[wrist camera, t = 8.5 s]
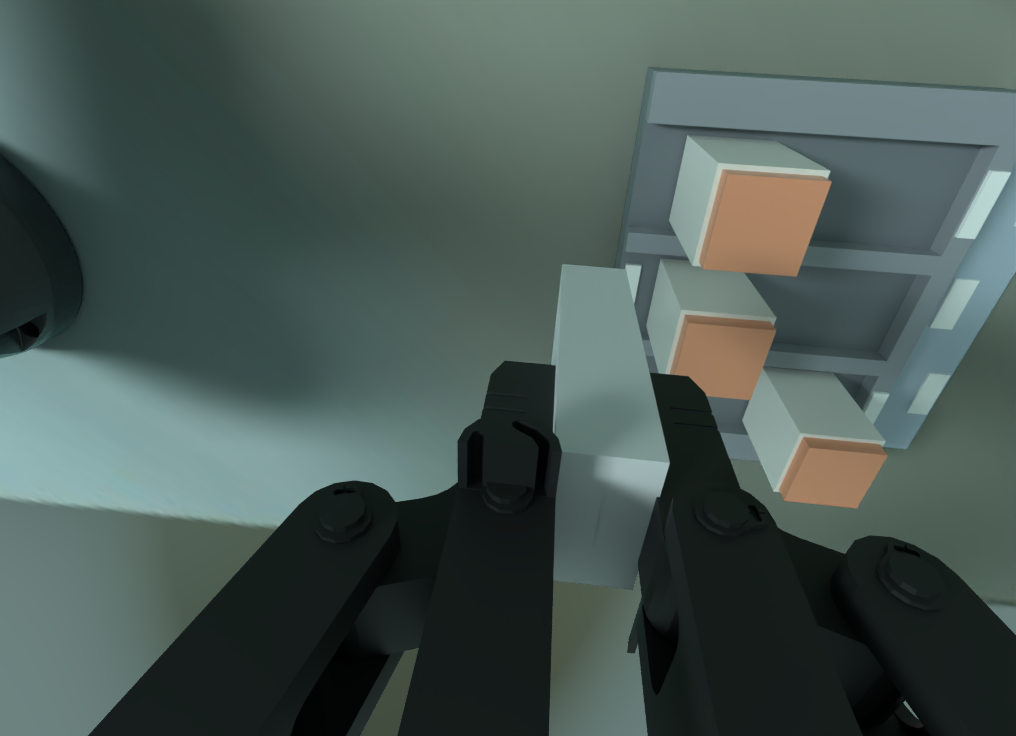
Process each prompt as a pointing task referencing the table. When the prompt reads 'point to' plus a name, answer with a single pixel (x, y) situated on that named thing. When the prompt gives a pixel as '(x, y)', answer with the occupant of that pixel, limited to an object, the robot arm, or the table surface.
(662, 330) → the orange-topped white block
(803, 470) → the orange topped white block
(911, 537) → the table surface
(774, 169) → the white orange-topped block
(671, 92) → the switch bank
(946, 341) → the label card
